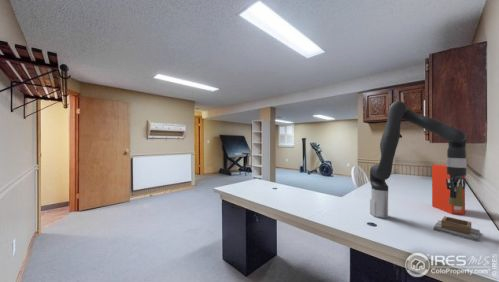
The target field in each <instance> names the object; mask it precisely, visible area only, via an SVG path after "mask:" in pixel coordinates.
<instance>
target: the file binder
mask: <svg viewBox="0 0 499 282" xmlns="http://www.w3.org/2000/svg"><path fill="white" fill-rule="evenodd" d="M462 177H463V178H465V179H466V176H462ZM449 178H450V175H449V174H447V164H432V165H431V198H432V199H431V206H432V208H435V209H438V210H440V211H443V212H445V213H448V214H450V215H454V216H455V215H457V216H465V215H466V188H465V189H463V191H462V197H463V202H464V207H459V206H453V205H449V204H448V202H449V197H450V190H449V189H447V184H446V179H449Z"/></svg>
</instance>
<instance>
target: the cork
mask: <svg viewBox="0 0 499 282" xmlns="http://www.w3.org/2000/svg"><path fill="white" fill-rule="evenodd" d="M449 187H450V186H449ZM462 191H463V187H462V186H460V185H459V186H458V187H457V189H456V198H451V197H449V202H448V204H449V205H453V206H459V207H464V202H463V197H462Z"/></svg>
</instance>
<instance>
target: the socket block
mask: <svg viewBox="0 0 499 282" xmlns="http://www.w3.org/2000/svg"><path fill="white" fill-rule="evenodd" d="M433 231H436V232H441V233H445V234H448V235H451V236H455V237H460V238H463V239H466V240H471V241H474V242H479V238H480V233H481V231H480V229H478V228H477V229H476V228H473V227H472V221H468V220H464V219H460V218H456V217H450V216H446V215H445V216H443V217H442V219H441V220H437V222H436V223H435V224H434V226H433Z"/></svg>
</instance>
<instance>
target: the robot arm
mask: <svg viewBox="0 0 499 282" xmlns="http://www.w3.org/2000/svg"><path fill="white" fill-rule="evenodd" d="M402 121H406V122H409V123H411V124H414V125H415V126H417V127H420V128H421V129H424V130H426V131H429V132H430V133H432V134H435V135H437V136H439V137H441V138H443V139H445V140H447V141H448V148H447V150H446V151H447V152H446V154H447V155H446V157H447V158H446V165H447V174H449V175H450V178H449V179H446V184H447V189H449V190H450V197H451V198H456V189H457V187H458V186H459V185H460V186H462V187H463V189H465V190H466V184H467V178H466V176H467V159H466V158H467V154H466V153H467V150H466V146H467V145H466V144H467V134H466V132H465V131H463V130H461V129H458V128H456V127H453V126H450V125H448V124H446V123H444V122H441V121H440V120H437V119H435V118H433V117H429V116H425V115H423V114H419V113H416V112H414V111H413V110H411V109H410V108H408V106H407V104H406V103H405V102H403V101H400V100H398V101H394V102H392V103H391V104H390V105H389V108H388V115H387V120H386V124H385V126H384V130H383V132H382V136H381V138H380V143H379V148H380V149H379V150H380V159H379V163H378V164H373V165H372V166H371V168H370V170H369V181H370V185H371V198H370V200H369V214H370V215H371V216H373V217H376V218H382V219H387V218H389V185H388V184H387V182H386V181H387V180H388V179H389V178H390V177H391V175H392V170H393V165H394V159H395V155H396V151H397V148H398V144H399V141H400V136H401V135H400V134H401V123H402ZM462 176H465V178H463V177H462ZM449 186H450V187H449Z"/></svg>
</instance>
